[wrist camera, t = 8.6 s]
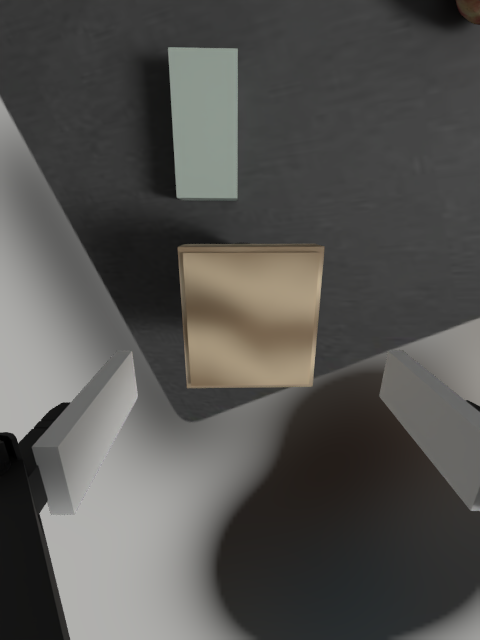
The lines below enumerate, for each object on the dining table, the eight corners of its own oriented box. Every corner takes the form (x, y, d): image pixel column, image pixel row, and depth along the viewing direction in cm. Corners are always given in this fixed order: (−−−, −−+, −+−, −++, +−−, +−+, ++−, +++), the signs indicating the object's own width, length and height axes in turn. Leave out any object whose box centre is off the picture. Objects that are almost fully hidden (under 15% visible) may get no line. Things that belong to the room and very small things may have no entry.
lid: (184, 244, 25) (176, 247, 22) (314, 243, 25) (325, 246, 22) (191, 371, 29) (186, 389, 26) (304, 370, 29) (313, 388, 26)
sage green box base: (175, 67, 29) (168, 47, 25) (237, 68, 29) (237, 48, 26) (182, 200, 33) (176, 197, 29) (237, 200, 33) (237, 198, 29)
